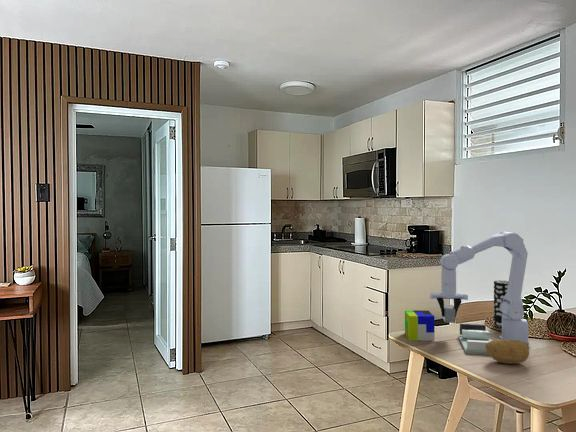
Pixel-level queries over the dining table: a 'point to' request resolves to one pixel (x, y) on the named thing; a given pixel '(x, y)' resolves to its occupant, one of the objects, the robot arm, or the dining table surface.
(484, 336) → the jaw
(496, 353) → the potato
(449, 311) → the steel block
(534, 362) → the dining table surface
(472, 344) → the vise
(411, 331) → the puzzle toy
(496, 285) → the white-spotted black cylinder
